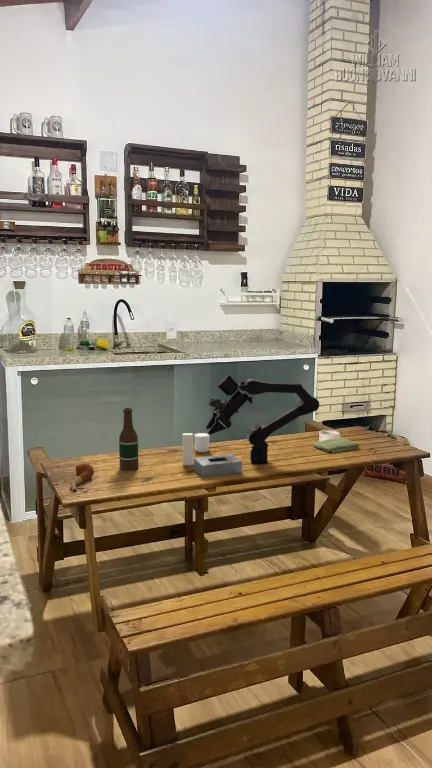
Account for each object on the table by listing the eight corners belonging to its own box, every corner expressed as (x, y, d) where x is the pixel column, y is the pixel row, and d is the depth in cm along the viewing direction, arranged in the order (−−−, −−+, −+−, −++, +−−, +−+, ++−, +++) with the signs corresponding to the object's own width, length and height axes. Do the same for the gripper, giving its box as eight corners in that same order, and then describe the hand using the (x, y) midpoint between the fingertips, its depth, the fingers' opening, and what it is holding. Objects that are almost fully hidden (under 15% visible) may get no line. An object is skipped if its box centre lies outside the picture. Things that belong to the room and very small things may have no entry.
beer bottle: (142, 466, 259) (141, 407, 255) (133, 471, 252) (132, 411, 247) (125, 464, 261) (123, 406, 257) (115, 469, 254) (114, 410, 250)
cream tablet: (192, 463, 263) (192, 433, 260) (193, 464, 260) (192, 434, 258) (182, 463, 262) (182, 433, 260) (183, 465, 260) (182, 435, 258)
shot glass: (207, 452, 278) (207, 436, 277) (192, 451, 279) (192, 436, 278) (211, 448, 284) (211, 433, 283) (196, 447, 286) (195, 432, 285)
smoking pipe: (95, 476, 247) (94, 461, 246) (88, 492, 229) (88, 476, 228) (76, 476, 247) (75, 462, 246) (68, 492, 229) (67, 477, 228)
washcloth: (310, 447, 287) (311, 440, 286) (341, 442, 295) (342, 435, 295) (329, 454, 275) (330, 447, 275) (361, 449, 284) (361, 442, 283)
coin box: (231, 464, 260) (231, 454, 259) (241, 472, 250) (241, 461, 249) (193, 469, 255) (193, 458, 254) (202, 477, 244) (202, 465, 244)
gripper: (218, 386, 266) (191, 412, 267) (222, 394, 248) (194, 423, 249) (237, 404, 269) (210, 430, 269) (243, 413, 250) (215, 442, 251)
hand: (207, 431), depth 260 cm, fingers open, 9 cm apart
